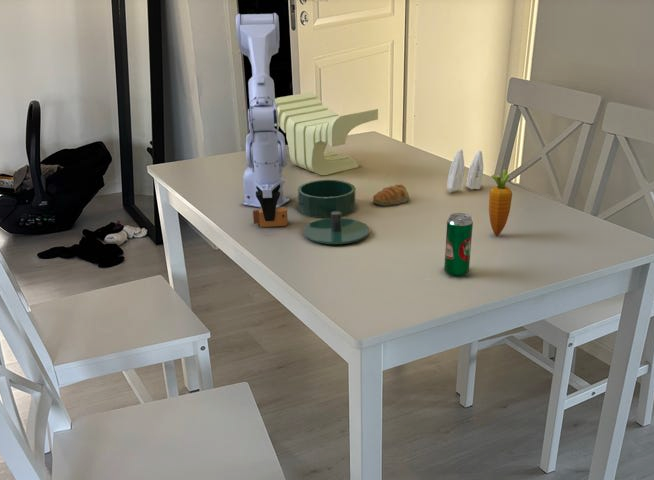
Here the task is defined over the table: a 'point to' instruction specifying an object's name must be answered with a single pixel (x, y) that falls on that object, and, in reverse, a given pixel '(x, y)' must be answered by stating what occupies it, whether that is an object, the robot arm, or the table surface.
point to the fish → (279, 221)
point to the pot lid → (336, 230)
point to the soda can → (458, 244)
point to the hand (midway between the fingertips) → (270, 217)
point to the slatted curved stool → (317, 132)
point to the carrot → (499, 203)
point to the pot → (326, 198)
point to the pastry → (391, 195)
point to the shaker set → (458, 172)
